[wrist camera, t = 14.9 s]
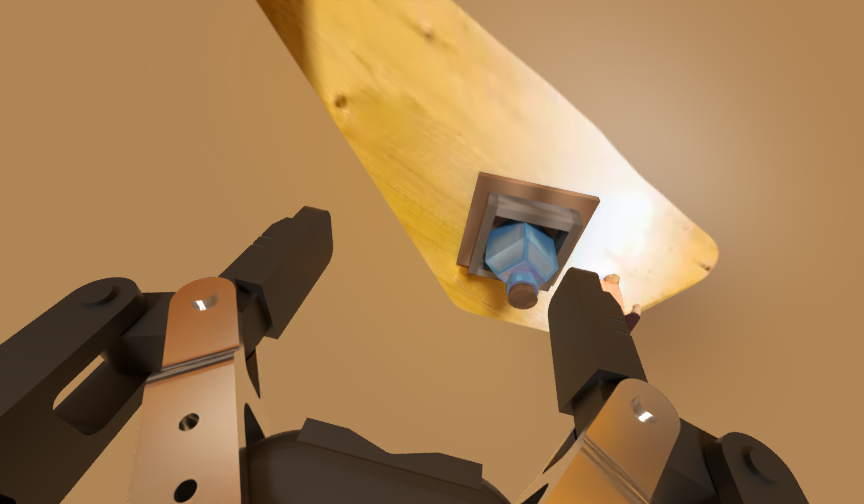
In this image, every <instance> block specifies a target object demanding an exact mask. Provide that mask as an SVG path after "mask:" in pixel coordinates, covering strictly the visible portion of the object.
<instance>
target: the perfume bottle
mask: <svg viewBox="0 0 864 504" xmlns="http://www.w3.org/2000/svg"><path fill="white" fill-rule="evenodd" d="M485 262H486V263H487V265H488V266H489V267H490V268H491V269H492V271H493V272H494V273H495V274H496V275H497V277H498V278H500V279H501V280H502V281H503V282H504V283H505V284H506V292H507V295H508V303H509V304H510V305H511V306H513V307H514V308H517V309H529V308H532V307H533V306H535V305H536V303H537V301H538V298H537V295H538V285H540V284H542V283H544V282H546V281H548V279H549V278H550V277H551V276H552V275H553V274H554V273H555V272H556V271H557V270H558V263H557V257H556V251H555V246H554V240H553V238H552V237H551V236H550V235H549V233H548V232H547V231H546V230H545V229H544V228H543V227H542V226H541V225H536V224H532V223H527V222H523V221H518V220H514V219H508V220H507V221H505V222H504V223H502V224H501V225H499V226H498V227H496V228H495V229H493V230H492V231H490V234H489V237H488V240H487V247H486V258H485Z"/></svg>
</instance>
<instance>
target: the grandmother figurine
mask: <svg viewBox="0 0 864 504" xmlns="http://www.w3.org/2000/svg"><path fill="white" fill-rule="evenodd" d="M604 280H605V281H604ZM604 280H601V279H600V283H601V286H602V289H603V291H607V292H610V293H611V294H612V296H613V297H614V298H615V299H616V301H617V302H618V303H619V304H620V306H621V308H622V311H623V313H625V311H624V304H623V299H622V295H621V292H620V289H619V285H618V284H619V280H620V278H619V276H618V275H616V274H611V275H608V276H606V277H605V279H604ZM641 310H642V307H641V306H640V305H639V304H635V305H634V306H633V310H632V312H631V313H630V314H628V315H625V319H626V324H627V325H628V327H629V330H630V332H631V331H632V330H633V328H634V327H635V325H636V324H637V322H638V321H639V319H640V314H641Z"/></svg>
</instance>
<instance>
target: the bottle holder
mask: <svg viewBox="0 0 864 504" xmlns="http://www.w3.org/2000/svg"><path fill="white" fill-rule="evenodd" d="M599 202H600V200H599V197H595V196H591V195H586V194H581V193H577V192H572V191H567V190H563V189H558V188H553V187H549V186H544V185H539V184H535V183H530V182H525V181H521V180H516V179H511V178H507V177H502V176H497V175H493V174H488V173H483V172H479V176H478V180H477V184H476V187H475V191H474V195H473V199H472V203H471V207H470V211H469V215H468V219H467V223H466V227H465V231H464V235H463V239H462V243H461V247H460V251H459V255H458V259H457V263H456V264H461V265H465V266H469V270H468V273H470V274H474V275H479V276H483V277H487V278H492V279H496V280H500V281H502V280H501V279H500V278H498V277H497V275H496V274H495V273H494V272H493V271H492V269H491V268H490V267H489V266H488V265H487V263H486V262H485V258H486V247H487V240H488V237H489V234H490V231H492V230H493V229H495V228H496V227H498V226H499V225H501V224H502V223H504V222H505V221H507V220H508V219H514V220H518V221H523V222H527V223H532V224H536V225H541V226H542V227H543V228H544V229H545V230H546V231H547V232H548V233H549V235H550V236H551V237H552V238H553V240H554V246H555V251H556V257H557V263H558V270H557V271H556V272H555V273H554V274H553V275H552V276H551V277H550V278H549V279H548V281H546V282H544V283H542V284H540V285H538V289H539V290H543V291H547V292H548V291H549V289H550V287H551V286H553V285H554V284H555V282H556V280H557V278H558V276H559V275H560V273H561V271H562V269H563V267H564V266H565V264H566V262H567V260H568V258H569V257H570V255H571V253H572V251H573V249H574V248H575V246H576V244H577V242H578V240H579V239H580V237H581V235H582V233H583V231H584V230H585V228H586V226H587V224H588V222H589V221H590V219H591V217H592V215H593V213H594V211H595V210H596V208H597V206H598V204H599Z"/></svg>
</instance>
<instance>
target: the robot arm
mask: <svg viewBox="0 0 864 504" xmlns="http://www.w3.org/2000/svg"><path fill="white" fill-rule="evenodd" d="M332 252H333V240H332V228H331V216H330V213H329V212H328V211H326V210H321V209H317V208H313V207H308V206H304V207H303V208H302V209H301V210H300V211H299V212H298V213H297V214H296V215H295V216H294V217H293V218H288V217H286V218H284V219H282V220H280V221H278V222H276V223H274V224H272V225H271V226H270V227H269V228H268V229H267V230H266V231H265V232H264V233H263V234H262V236H261V237H259V238H258V239H257V240H255V242H254V243H253V245H250V247H248V248H247V249H246V250H245V251H244V252H243V253H242V254H241V255H240V256H239V257H238V258H237V259H236V260H235V261H234V262H233V263H232V264H231V265H230V266H229V267H228V268H227V269H226V270H225V271H224V272H223V273H221V274H220V275H219V276H218V277H207V278H202V279H198V280H195V281H192V282H190V283H188V284H186V285H185V286H183V287H182V288H180V289H179V290H178V291H177V292H160V293H158V292H157V293H142V292H141V291H140V289H139V288H138V286H137V285H136V283H135V282H134V281H132V280H130V279H127V278H121V277H116V278H115V277H113V278H106V279H101V280H97V281H94V282H91V283H88V284H86V285H84V286H82V287H80V288H78V289H76V290H75V291H73V292H72V293H70V294H69V295H68V296H66V297H65V298H64V299H62V300H61V301H59V302H58V303H57V304H55V305H54V306H53V307H51V308H50V309H48V311H46V312H44V313H43V314H42V315H40V316H39V317H38V318H36V319H35V320H34V321H32V322H31V323H30V324H28V325H27V326H25V327H24V328H23V329H21V330H20V331H19V332H17V333H16V334H14V335H13V336H12V337H11V338H9V339H8V340H6V341H5V342H4V343H2V344H1V345H0V504H60V502H61V501H62V500H63V499H64V498H65V496H66V495H67V494H68V493H69V492H70V490H71V489H72V488H73V487H74V485H75V484H76V483H77V482H78V481H79V479H80V478H81V477H82V476H83V475H84V473H85V472H86V471H87V470H88V469H89V467H90V466H91V465H92V463H94V461H95V460H96V459H97V458H98V457H99V455H100V454H101V453H102V451H103V450H104V449H105V448H106V447H107V446H108V444H109V443H110V442H111V441H112V439H113V438H114V437H115V436H116V435H117V434H118V432H119V431H120V430H121V429H122V427H123V426H124V425H125V424H126V423H127V421H128V420H129V419H130V418H131V417H132V415H133V414H134V413H135V412H136V411H137V409H138V408H139V407H140V406H141V404H142V407H141V414H140V420H139V427H138V433H137V440H136V446H135V454H134V460H133V466H132V473H131V479H130V486H129V492H128V500H127V504H511V503H510V502H509V501H508V500H507V498H506V497H505V496H504V495H503V494H502V493H501V492H500V491H499V490H498V489H497V488H495V487H494V486H493V485H492V484H490V483H489V482H488V481H486V480H485V479H483V478H482V464H479V463H475V462H472V461H468V460H464V459H460V458H456V457H453V456H449V455H445V454H442V453H413V454H390V453H387V452H385V451H384V450H382V449H380V448H379V447H377V446H376V445H374V444H373V443H371V442H369V441H368V440H366V439H365V438H363V437H361V436H360V435H358V434H357V433H355V432H353V431H352V430H350V429H348V428H344V427H340V426H337V425H333V424H329V423H325V422H322V421H318V420H314V419H310V418H307V419H306V421H305V423H304V425H303V428H302V429H301V430H292V431H286V432H282V433H278V434H275V435H272V436H271V431H270V426H269V421H268V417H267V413H266V409H265V403H264V396H263V386H262V377H261V368H260V359H259V350H258V346H257V345H258V344H259V342H260V341H261V339H262V338H263V337H264V336H266V337H270V338H274V339H278V338H279V337H280V335H281V334H282V332H283V331H284V329H285V328H286V326H287V325H288V323H289V322H290V320H291V319H292V317H293V316H294V314H295V313H296V311H297V310H298V308H299V307H300V305H301V304H302V302H303V301H304V300H305V298H306V297H307V295H308V294H309V292H310V291H311V289H312V288H313V286H314V284H315V283H316V282H317V280H318V279H319V277H320V276H321V274H322V273H323V271H324V270H325V268H326V267H327V265H328V264H329V262H330V259H331V257H332ZM548 321H549V330H550V339H551V347H552V356H553V364H554V373H555V382H556V390H557V399H558V407H559V412H561V413H565V414H569V415H573V416H574V422H575V426H574V427H573V428H572V429H571V430H570V432H569V433H568V434H567V436H566V437H565V439H564V440H563V441H562V443H561V444H560V445H559V447H558V448H557V450H556V451H555V452H554V454H553V455H552V457H551V458H550V459H549V461H548V462H547V463H546V465H545V466H544V468H543V469H542V470H541V472H540V473H539V475H538V476H537V477H536V478H535V480H534V481H533V482H532V483H531V485H530V486H529V487H528V488H527V489H526V490H525V491H524V492H523V494H522V495H521V496H520V497H519V499H518V500H517V501H516V502H515V504H809V503H808V501H807V499H806V497H805V495H804V493H803V492H802V490H801V488H800V486H799V484H798V482H797V480H796V479H795V477H794V476H793V474H792V472H791V471H790V469H789V468H788V467H787V465H786V464H785V463H784V462H783V461H782V460H781V459H780V458H779V457H778V456H777V455H776V454H775V453H774V452H773V451H772V450H771V449H770V448H768V447H767V446H766V445H764V444H763V443H762V442H760V441H758V440H757V439H755V438H753V437H751V436H749V435H746V434H743V433H739V432H731V433H728V434H726V435H724V436H722V437H721V438H719V439H718V438H716V437H714V436H712V435H710V434H709V433H707V432H705V431H703V430H701V429H699V428H698V427H696V426H694V425H692V424H690V423H688V422H686V421H685V420H683V419H681V418H679V416H678V413H677V411H676V410H675V408H674V406H673V405H672V403H671V402H670V401H669V399H668V398H667V397H666V396H665V395H664V394H663V393H662V392H661V391H659V390H658V389H657V388H655V387H654V386H652V385H651V384H649V383H648V381H647V379H646V376H645V373H644V370H643V367H642V364H641V361H640V359H639V356H638V353H637V350H636V347H635V345H634V342H633V339H632V336H630V330H629V327H628V325H627V324H626V319H625V316H624V313H623V311H622V308H621V306H620V304H619V303H618V302H617V301H616V299H615V298H614V297H613V296H612V294H611V293H610V292H607V291H603V289H602V286H601V283H600V279H599V276H598V274H597V273H595V272H591V271H587V270H582V269H578V268H573V267H571V268H569V269H568V271H567V272H566V274H565V276H564V277H563V279H562V281H561V283H560V284H559V286H558V288H557V290H556V291H555V293H554V295H553V297H552V299H551V301H550V304H549V308H548ZM98 355H100V356H101V357H102V358H103V359H104V361H103V362H102V363H101V364H100V365H99V366H98V367H97V368H96V369H95V370H94V371H93V372H92V373H91V374H90V375H89V376H88V377H87V378H86V379H85V380H84V381H83V382H82V383H81V384H80V385H79V386H78V387H77V388H76V389H75V390H74V391H73V392H72V393H70V394H69V395H68V396H67V397H66V398H65V399H64V400H63V401H62V402H61V403H60V404H59V405H58V406H57V407H56V408H55V409H54V410H53V404H54V401H55V399H56V397H57V396H58V394H59V393H60V392H61V391H62V390H63V389H64V388H65V387H66V386H67V385H68V384H69V383H70V382H71V381H72V380H73V379H74V378H75V377H76V376H77V375H78V374H79V373H80V372H81V371H83V370H84V369H85V368H86V367H87V366H88V365H89V364H90V363H91V362H92V361H93V360H94V359H95V358H96V357H97V356H98Z"/></svg>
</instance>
